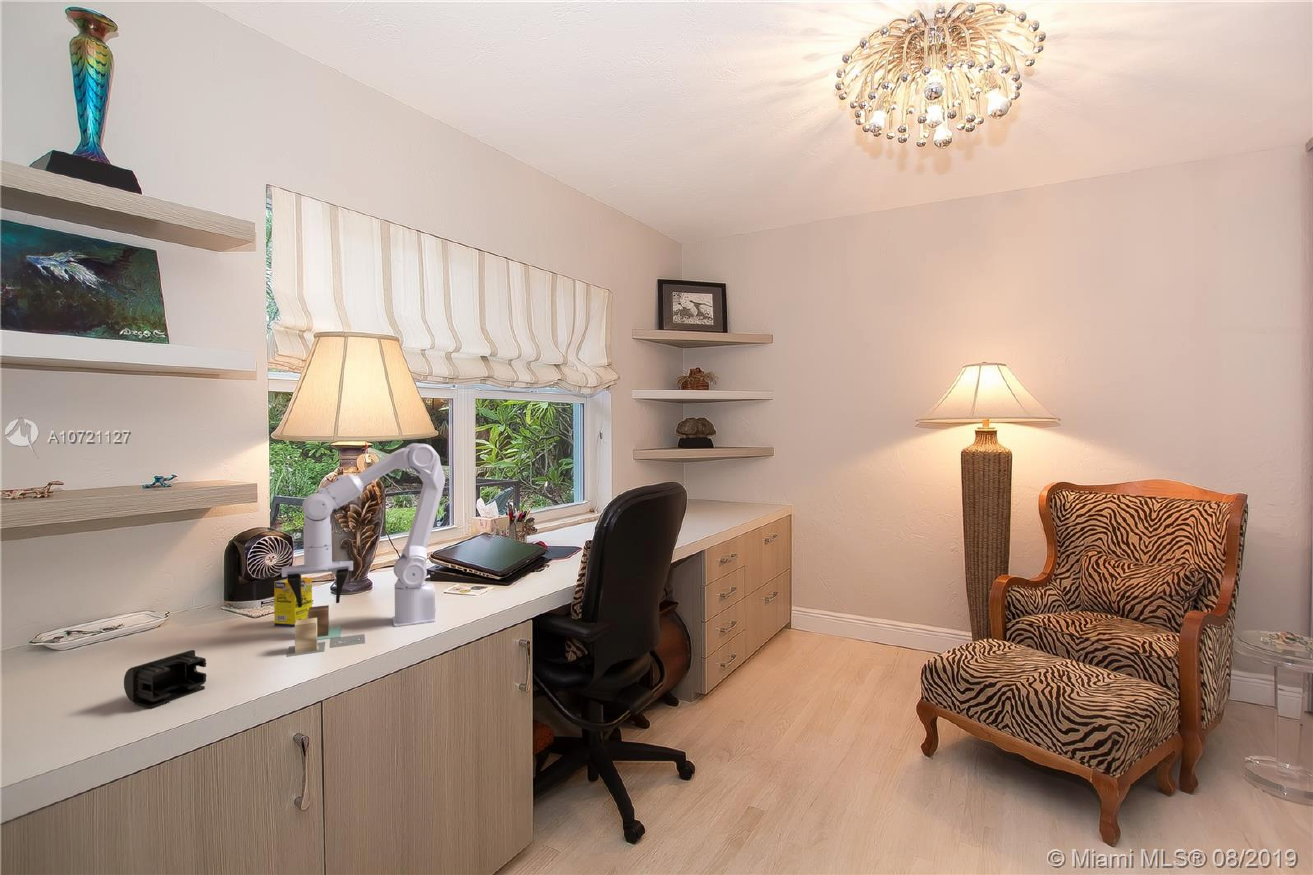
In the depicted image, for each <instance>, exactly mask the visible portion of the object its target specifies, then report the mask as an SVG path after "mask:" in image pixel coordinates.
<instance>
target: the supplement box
mask: <svg viewBox="0 0 1313 875" xmlns="http://www.w3.org/2000/svg"><path fill="white" fill-rule="evenodd" d="M287 579H288V577H287V578H283V579H280V580H276V581H274V584H273V585H274V588H273V589H274V594H273V595H274V598H273V599H274V602H273V603H274V609H273V610H274V612H273V613H274V627H287V628H288V627H289V628H295V623H296V620H301V619H308V610H309V607H313V578H312V577H308V576H301V594H302V607H300V608H298V603H297V599H296V596H295V594H294V592H293V590H292V588H291V586H290V585H289V583H288V581H287Z"/></svg>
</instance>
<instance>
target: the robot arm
mask: <svg viewBox="0 0 1313 875" xmlns="http://www.w3.org/2000/svg"><path fill="white" fill-rule="evenodd" d="M403 469H405V470H407V469H412V470H413V471H414V472H416V474H417V476H418V477H419V479H420V480H421V481H422V486H421V490H420V495H419V498H418V500H417V505H416V509H415V512H414V515H413V519H412V524H411V526H410V531H409V533H408V537H407V541H406V544H405V545H404V547H403V549H402V552H401V554H400V556H399V558H397V560H396V561H395V563H394V565H393V573H394V575H395V576H396V578H397V580H396V581H395V583H394V616H392V618H391V619H392V623H393V627H395V628H396V627H405V626H412V625H419V624H426V623H434V622H436V609H437V608H436V607H437V606H436V590H435V584H434V583H432V582H430V583H429V582H427V583H426V578H427V576H428V570H427V567H426V566H427V560H428V550H427V548H428V545H429V542H430V539H431V535H432V531H433V529H434V523H435V521H436V516H437V513H438V509H439V506H440V502H441V499H442V494H443V491H444V487H445V483H446V476H445V473H444V470H443V467H442V464H441V457H440V455H439V453H437V450H435V449H434V448H433V447H432V446H431V445H429V444H426V443H419V442H418V443H417V442H415V443H413V442H412V443H410V444H408V445H407V446H406V447H402V448H399V449H397V450H395V451H393V452H391V453H389V454H387V456H385V457H383V458H382V459H380V460H378V461H376V462H375V463H374V464H372V465H370V466H369V467H367V468H365V469H364V470H362V471H361V472H359V473H358V474H350V473H347V474H345V475H344V474H340V475H338V476H337V477H336V478H337V480H334V481H333V482H332V483H330V484H328V485H327V486H325V487H321V486H320V487H319V488H317V491H318V493H317V492H316V493H312V494H309V495H308V496H306V497H305V498H304V500H303V502H302V505H301V509H302V512H303V514H304V518H303V527H302V528H303V563H304V564H298V565H297V564H296V565H290V566H282V568H281V578H286V577H287V578H288V579H287V578H286V579H287V581H288V583H289V585H290V586H291V588H292V590H293V592H294V594H295V596H296V599H297V603H298V608H300V607H302V594H301V577H302V576H303V575H304V576H305V575H313V574H324V573H332V572H335V578H336V579H335V581H336V582H335V583H336V584H335V585H336V593H335V604H340V598H341V594H342V590H343V587H344V585H345V582H346V580H347V578H348V575H349V571H354V561H353V560H345V561H344V560H343V561H333V545H332V544H333V542H332V541H333V538H332V524H331V515H332V512H333V510H334V509H335V510H336V509H337V510H338V509H340V508H341V507H343V506H345V505H346V504H348V503H349V502H351V501H352V500H354V499H356V498H358V497H359V496H362V494H363V491H364V488H365V487H366V486H367V485H369V484H371V483H373V482H374V481H376V480H377V479H380V478H381V477H382V478H383V476H385V475H387V474H388V473H390V472H392V471H394V470H403Z"/></svg>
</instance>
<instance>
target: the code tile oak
mask: <svg viewBox="0 0 1313 875" xmlns="http://www.w3.org/2000/svg"><path fill="white" fill-rule="evenodd" d="M325 647H326V641H320V642H317V650H316V651H308V652H301V653H295V645H291V646H288V648H287V649H288V650H287V653H286V658H287V657H294V656H296V657H297V656H303V655H309V654H311V655H312V654H317V653H324V652H325V649H326V648H325Z"/></svg>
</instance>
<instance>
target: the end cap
mask: <svg viewBox="0 0 1313 875" xmlns="http://www.w3.org/2000/svg"><path fill="white" fill-rule="evenodd" d="M197 667H200V668H206V667H207V659H206V658H205V657H201V656H196V650H195V649H190V650H189V649H188V650H187V651H182V652H180V653H177V654H173V655H170V656H165V657H164V658H160V659H156V660H153V661H149V662H145V663H142V664H139V665H136V666H132V667H130V668H128V669H127V670H126V672H125V674H124V677H123V688H124V693H125V695H126V697H127V698H128V700H129V701H130V702H132V703H133V704H134V705H135V706H137V705H138V706H137V707H140V708H143V709H147V710H153V709H156V708H160V707H162V706H164V705H166V704H167V703H168V704H170V703H171V702H173V701H176V700H178V699H180V698H184V697H187V696H189V695H193V694H195V693H198V692H201V691H203V690H205V689H206V687H205V685H204V684H206V682H207V676H208V675H207V674H206V673H205V672H200V671H198V670H197V669H198V668H197ZM168 704H167V705H168ZM161 705H162V706H161Z"/></svg>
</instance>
